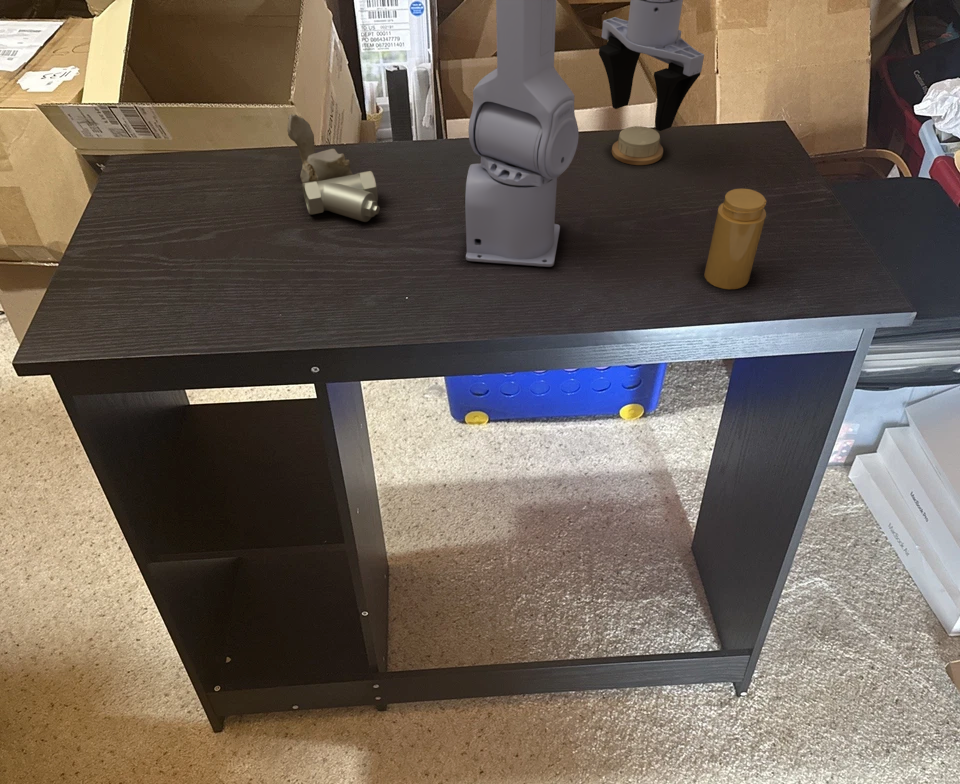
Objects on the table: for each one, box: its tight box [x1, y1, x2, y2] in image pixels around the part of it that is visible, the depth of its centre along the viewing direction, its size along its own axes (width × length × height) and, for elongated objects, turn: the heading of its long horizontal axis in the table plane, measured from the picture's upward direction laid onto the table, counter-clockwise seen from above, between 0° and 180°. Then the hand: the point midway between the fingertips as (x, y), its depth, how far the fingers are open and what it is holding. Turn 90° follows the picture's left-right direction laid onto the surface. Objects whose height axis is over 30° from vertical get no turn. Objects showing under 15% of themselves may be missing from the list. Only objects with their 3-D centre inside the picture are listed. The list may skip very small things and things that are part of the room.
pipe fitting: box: [301, 170, 381, 223], centre depth 95 cm, size 8×4×7 cm
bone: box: [286, 113, 353, 183], centre depth 98 cm, size 9×6×10 cm
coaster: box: [611, 140, 664, 166], centre depth 105 cm, size 6×6×1 cm
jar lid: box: [617, 125, 661, 158], centre depth 104 cm, size 5×5×2 cm
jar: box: [703, 188, 767, 290], centre depth 84 cm, size 5×5×9 cm
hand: (641, 117), depth 102 cm, fingers open, 7 cm apart
